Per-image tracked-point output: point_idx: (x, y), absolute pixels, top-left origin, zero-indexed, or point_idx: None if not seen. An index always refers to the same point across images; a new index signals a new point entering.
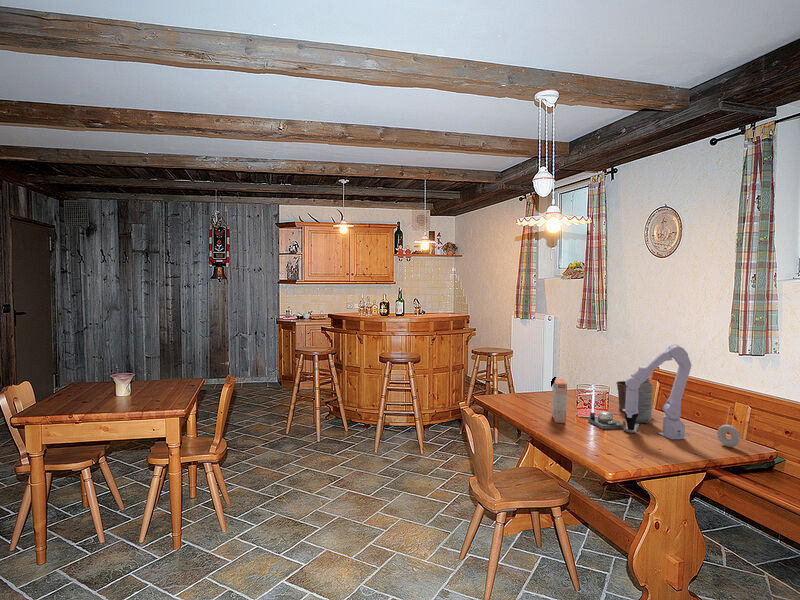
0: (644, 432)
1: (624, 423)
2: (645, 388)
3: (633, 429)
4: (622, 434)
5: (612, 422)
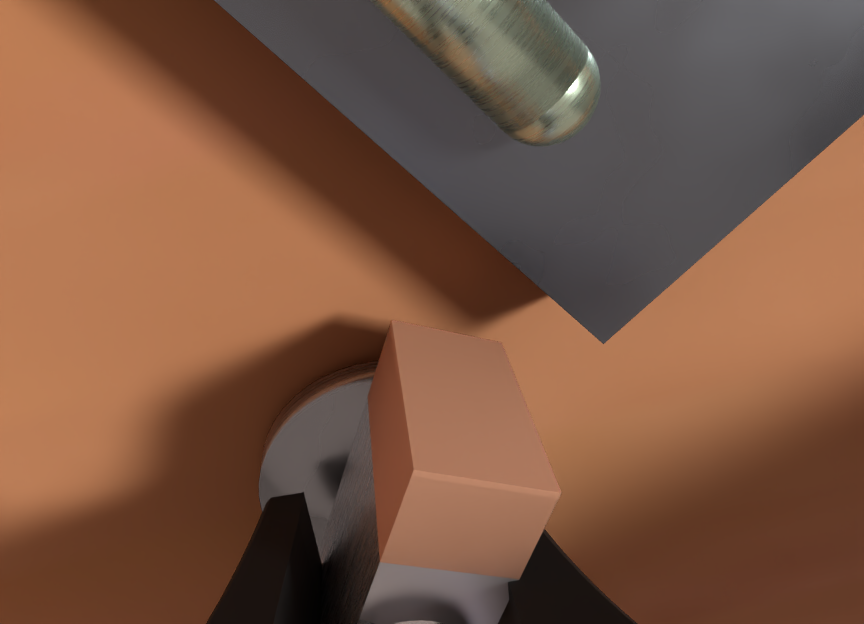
0: None
1: (386, 467)
2: None
3: None
4: (7, 395)
5: (402, 19)
